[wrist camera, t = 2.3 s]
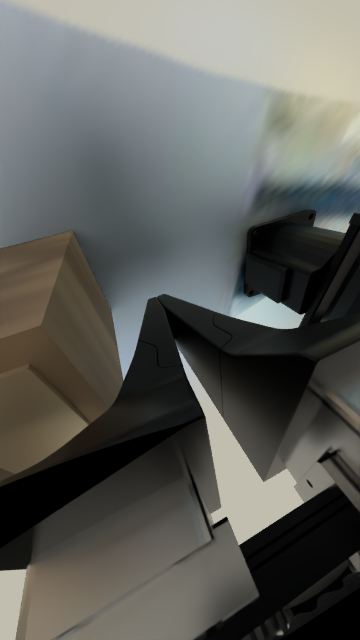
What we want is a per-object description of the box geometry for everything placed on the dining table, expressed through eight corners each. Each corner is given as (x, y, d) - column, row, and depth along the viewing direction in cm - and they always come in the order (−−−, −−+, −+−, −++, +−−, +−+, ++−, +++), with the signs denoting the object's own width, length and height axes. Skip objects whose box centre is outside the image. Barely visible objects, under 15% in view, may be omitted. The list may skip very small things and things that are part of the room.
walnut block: (72, 230, 12) (39, 329, 4) (111, 310, 15) (133, 442, 8) (-1, 249, 11) (-229, 419, 3) (58, 328, 14) (24, 495, 7)
